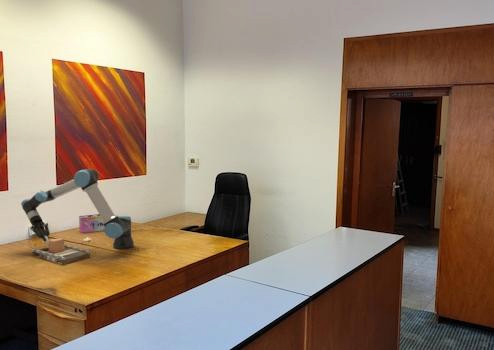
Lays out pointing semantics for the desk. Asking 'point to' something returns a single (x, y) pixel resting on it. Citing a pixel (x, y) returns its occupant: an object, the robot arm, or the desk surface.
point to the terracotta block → (56, 245)
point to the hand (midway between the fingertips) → (49, 244)
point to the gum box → (91, 223)
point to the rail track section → (62, 254)
